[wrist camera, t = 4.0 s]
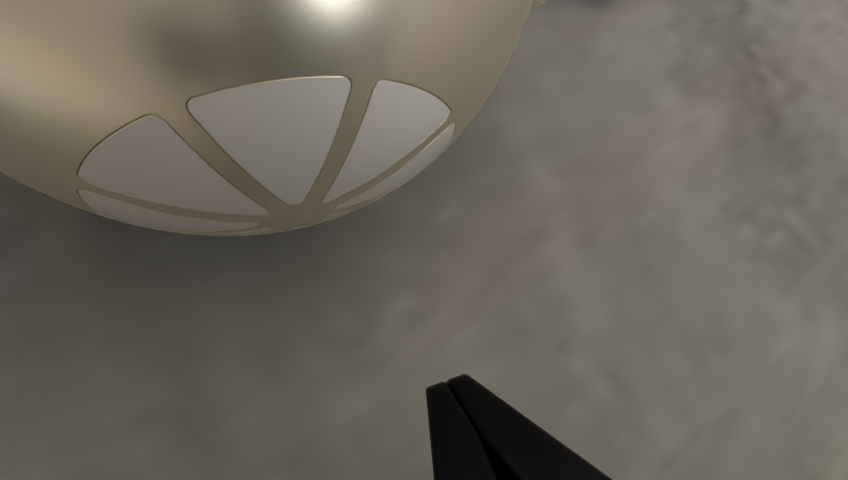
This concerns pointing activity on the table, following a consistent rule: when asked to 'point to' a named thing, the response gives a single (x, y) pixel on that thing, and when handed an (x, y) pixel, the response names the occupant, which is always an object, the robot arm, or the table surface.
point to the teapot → (241, 103)
